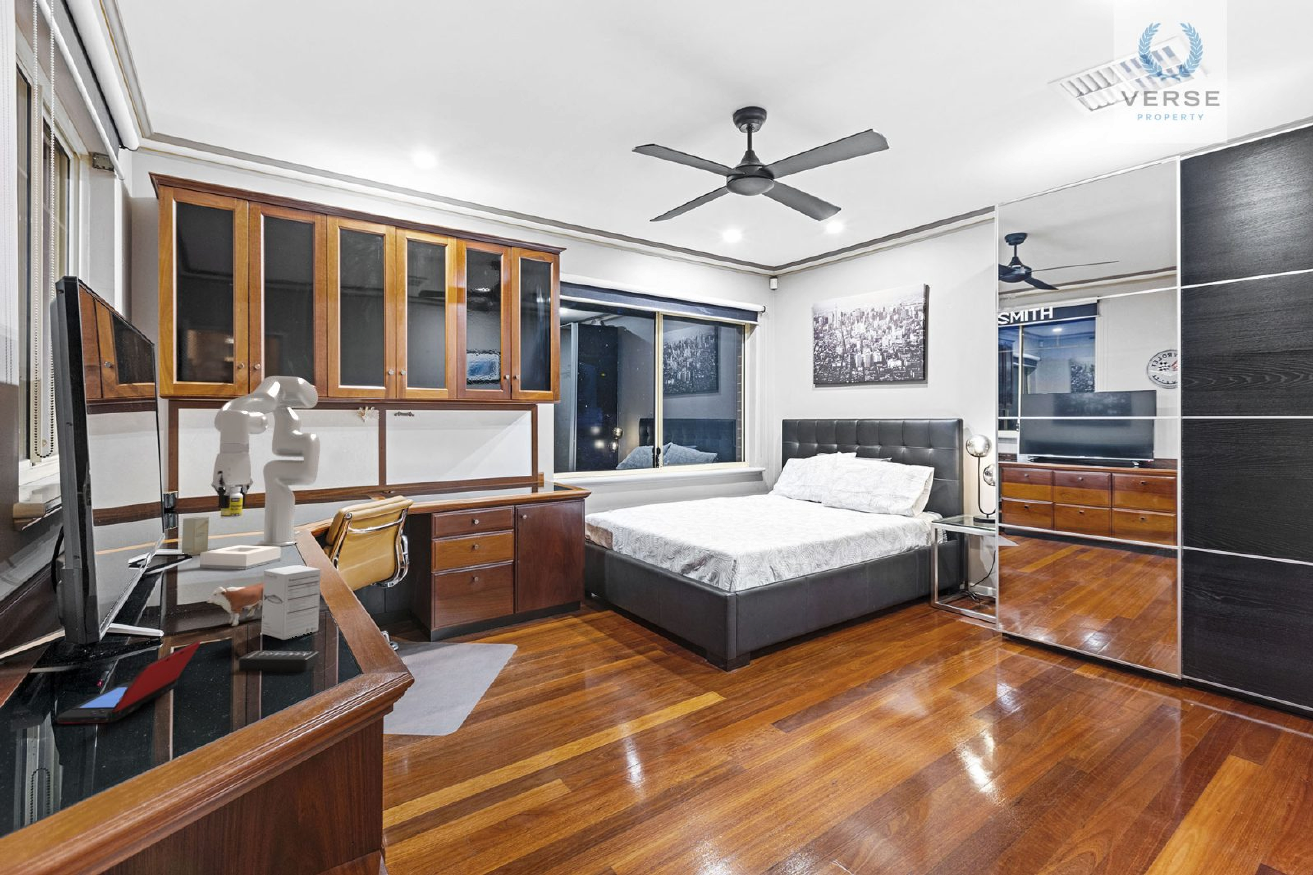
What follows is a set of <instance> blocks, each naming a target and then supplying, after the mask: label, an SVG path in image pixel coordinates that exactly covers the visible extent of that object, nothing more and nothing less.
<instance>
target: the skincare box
mask: <svg viewBox="0 0 1313 875" xmlns="http://www.w3.org/2000/svg"><path fill="white" fill-rule="evenodd" d="M209 524H210V517H209V516H195V517H193V516H192V517H187V518H182V539H181V540H182V541H181V554H182V553H184V554H188V555H187V556H195V555H200V553H201V552H206V551H209V550H208V548H209V526H210V525H209Z"/></svg>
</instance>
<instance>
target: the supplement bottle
mask: <svg viewBox="0 0 1313 875" xmlns="http://www.w3.org/2000/svg"><path fill="white" fill-rule="evenodd" d="M240 490H241V487H236V486H231V487H230V490H229V493H228V495H230V507H229V508H220V518H221V519H222V520H223V519H224V520H225V519H226V520H234V519H236V520H237V519H240V518H241V519H242V517H243V516H242V515H243V507H242V502H243V495H242V494H240V493H239V492H240Z"/></svg>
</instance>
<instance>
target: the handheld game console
mask: <svg viewBox="0 0 1313 875" xmlns="http://www.w3.org/2000/svg"><path fill="white" fill-rule="evenodd" d="M200 644H201V641H200V640H196V641H193V642H191V643H189V644H187V645H185V646H184V647H181V648H179V649H177V650H175V651H173V652H171V653H169V654H167V655H165V656H163V657H161V658H158V659H156V660H154V661H153V662H151V663H149V664H146V665H145V666H143V667H142V668H141V669H140V670H139V671H138V672H136V674H135V676H134V677H133V679H132V681H127V682H122V683H120V684H118V685H116V686H113V687H112V688H111V687H110V689H108V690H105V691H104V692H101V693H99V694H97V695H95V696H93V697H92V698H89V699H88V700H86V701H84V702H81V703H80V704H78V705H75V706H74V707H71V708H70V709H68V710H66V711H64V712H62V713H60V714H58V716H57V717H56V718H57V719H56V723H57V724H62V725H64V724H66V725H67V724H97V723H99V724H100V723H101V724H102V723H105V724H106V723H108V724H110V723H115V722H117V721H120V720H121V719H122V718H123V717H125V716H127V715H129V714H131V713H133V712H135V711H137V710H138V709H140V708H141V706H142V705H144V704H146V703H149V702H151V701H153V700H156V699H157V698H159V697H161V696H163V695H165V694H166V693H168V692H169V691H173V690H174V689H175V688H176V687H177V686H178V678H179V677H180V675H181V674H182V673H183V670H184V669H185V668H186V666H187V664H188V663H189V662H190V660H191V659H192V657H193V656H194V654H195V653H196V651H197V649H198V648H199V647H200Z"/></svg>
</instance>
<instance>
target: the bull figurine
mask: <svg viewBox="0 0 1313 875" xmlns="http://www.w3.org/2000/svg"><path fill="white" fill-rule="evenodd" d="M263 585H264V581H262V582H260V583H256V584H252V585H248V586H239V587H236V586H230V587H227V588H223V587H222V586H218V587H217V588H216V589H214V590H213V591H212V592H211V594H210V595H209V597H208V598H207V599H206V603H209V604H212V603H213V604H215V605H217V606H218V605H219V606H221V607H222V609H224V610H225V611H226V612H228V614H229V616H230V620H229V621H228V624H231V625H230V626H232V627H237V626H238V625H239V623H240V622H239V618H240V616H241V613H242V611H243V609H244V608H247V610H248V611H250V612H249V613H248V614H247V615H246V618H252V616H255V610H256V609H257V610H261V607H262V606H263Z"/></svg>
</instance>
